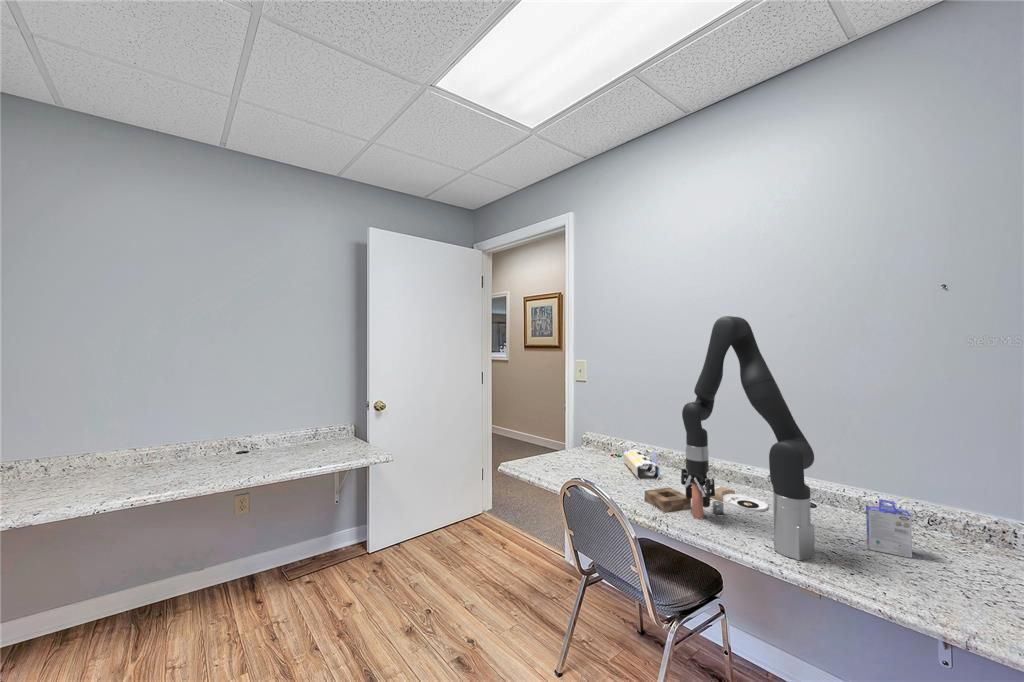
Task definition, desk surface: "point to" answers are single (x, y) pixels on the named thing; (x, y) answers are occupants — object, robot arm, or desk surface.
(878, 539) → the ink cartridge box
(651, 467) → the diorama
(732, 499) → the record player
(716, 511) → the short pin
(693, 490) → the long pin
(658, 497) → the hole block
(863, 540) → the desk surface
